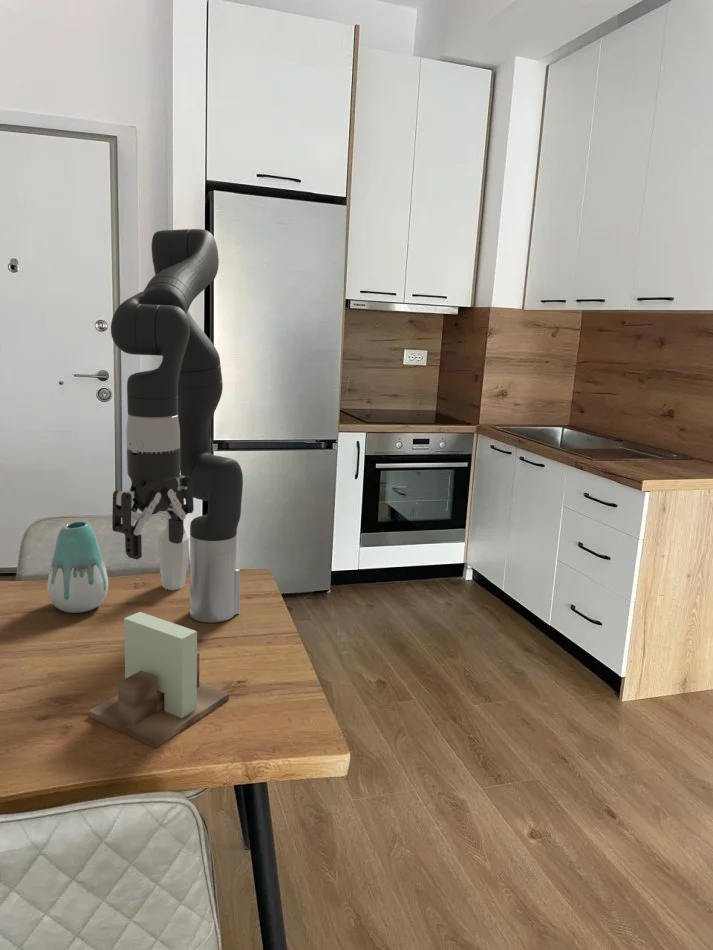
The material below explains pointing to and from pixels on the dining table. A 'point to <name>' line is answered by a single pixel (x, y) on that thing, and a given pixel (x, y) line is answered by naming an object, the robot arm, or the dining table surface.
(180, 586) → the faceted bottle
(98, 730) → the dining table surface
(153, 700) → the slot plate
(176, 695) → the upright sage green panel
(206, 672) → the dining table surface
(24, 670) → the dining table surface
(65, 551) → the vase
